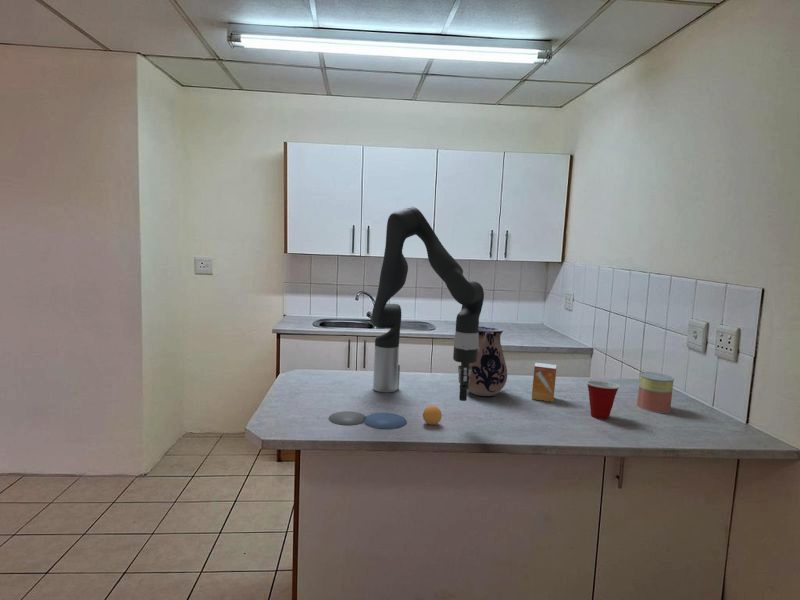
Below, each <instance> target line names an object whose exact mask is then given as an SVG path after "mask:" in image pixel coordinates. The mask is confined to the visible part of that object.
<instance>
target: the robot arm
mask: <svg viewBox="0 0 800 600" xmlns="http://www.w3.org/2000/svg"><path fill="white" fill-rule="evenodd" d="M386 222H387V224H386V231H385V233H386V234H385V235H386V237H385V246H384V247H385V248H384V254H383V260H382V265H381V268H380V269H381V270H380V275H379V282H378V288H377V293H376V297H375V300H374V303H373V307H372V312H371V323H372V325H373V327H374V328H377V329H389V330H387V332H386V333H384V334H381V335H378V336H376V337H375V340H374V356H373V357H374V358H373V360H374V362H373V363H374V364H373V382H372V383H373V385H372V387H373V388H372V389H373V390H374V391H376V392H378V393H394V392H396V391H398V390H399V389H400V369H401V368H400V367H401V365H400V364H399V351H400V350H399V349H400V336H401V335H400V334H401V326H402V325H401V324H402V308H401V305H400V304H398V303H388V302H389V301H390V299H392V298H393V297H394V296H395V295H396V294H397V293H398V292H400V291H401V289H402V288H403V287H404V286H405V284H406V282H407V281H406V280H407V276H408V272H409V264H408V262H407V259H406V257H405V255H404V253H403V249H404V243H405V241H406V239H408V238H410V237H412V236H417V237H418V238H419V239H420V240H421V241H422V242H423V244H424V246H425V249H426V252H427V253H426V254H427V259H428V262H429V264H430V267H431V268H432V270H433V272H435V273H436V274H437V276H438V277H439V278H440V279H441V280H442V281H443V282H444V284H445V286H446V288H447V290H448V291H449V293H450V295H451V297H452V298H453V300H455V301H456V302H457V303H458V304H460V305H461V309H460V311H459V312H458V313H457V314H456V318H455V331H454V332H455V333H454V338H453V341H454V342H453V355H452V357H453V358H452V359H453V361H455V362H457V363H460V365H458V366H457V367H458V368H457V371H458V383H459V385H458V388H459V401H460V402H461V401H462V402H466V401H467V396H468V391H469V390H468V388H469V386H468V385H469V382H470V374H471V366H469V364H470V363H475V362H477V359H478V343H479V337H478V330H479V327H480V325H479V324H480V316H481V313H482V309H483V304H484V299H485V291H484V288H483V286H482V285H481V283H479V282H477V281H473V280H472V281H468V280H467V279H466V277H465V276H464V270H463V268H462V266H461V265H460V264H459V263H458V262H457V260H456V259H455V258H454V257H453V255H451V254H450V253H449V251H447V249H446V248H445V246H444V245H443V243H442V242H441V241H440V239H439V237H438V235H437V234H436V233H435V231H434V229H433V228H432V226H431V225H430V223H429V222H428V220H427V219H426V217H425V215H424V214H423V213H422V211H420V209H418V208H417V207H415V206H409V207H407V206H406V207H405V208H402V209H399V210H397V211H396V210H395V211H393V212H392V213H390V215H389V216H388V219H387V221H386Z"/></svg>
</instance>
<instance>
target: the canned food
mask: <svg viewBox="0 0 800 600" xmlns="http://www.w3.org/2000/svg"><path fill="white" fill-rule="evenodd" d="M674 380H675V378H674V377H673V376H671V375H668V374H664V373H660V372H659V373H658V372H650V371H649V372H646V371H645V372H640V373H639V381H638V382H639V384H638V392H637V393H638V394H637V400H636V401H637V402H636V407H637V408H639V409H640V410H644V411H646V412H647V411H648V412H651V413H657V414H667V413H671V407H672V406H671V404H672V400H673V399H672V398H673V390H674V389H673V388H674Z"/></svg>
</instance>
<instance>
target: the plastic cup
mask: <svg viewBox="0 0 800 600" xmlns="http://www.w3.org/2000/svg"><path fill="white" fill-rule="evenodd" d="M586 384H587V388H588V400H589V401H588V402H589V406H590V407H589V410H590V416H591V417H593V418H595V419H597V420H598V419H599V420H608V419H609V417H610V416H611V411H612V408H613V406H614V402H615V398H616V395H617V393H618V390H619V389H620V387H621V386H620V385H619V384H617V383H613V382H610V381H609V382H608V381H603V380H586Z"/></svg>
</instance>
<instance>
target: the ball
mask: <svg viewBox="0 0 800 600" xmlns="http://www.w3.org/2000/svg"><path fill="white" fill-rule="evenodd" d="M442 417H443V415H442V411H441V409H440V408H439V407H438V406H436V405H429V406H427V407H425V408H424V410H423V413H422V418H423V419H422V420H423V421H424V422H425V423H426V424H427V425H430V426H434V425H437V424H439V423H440V422H441V420H442Z"/></svg>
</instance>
